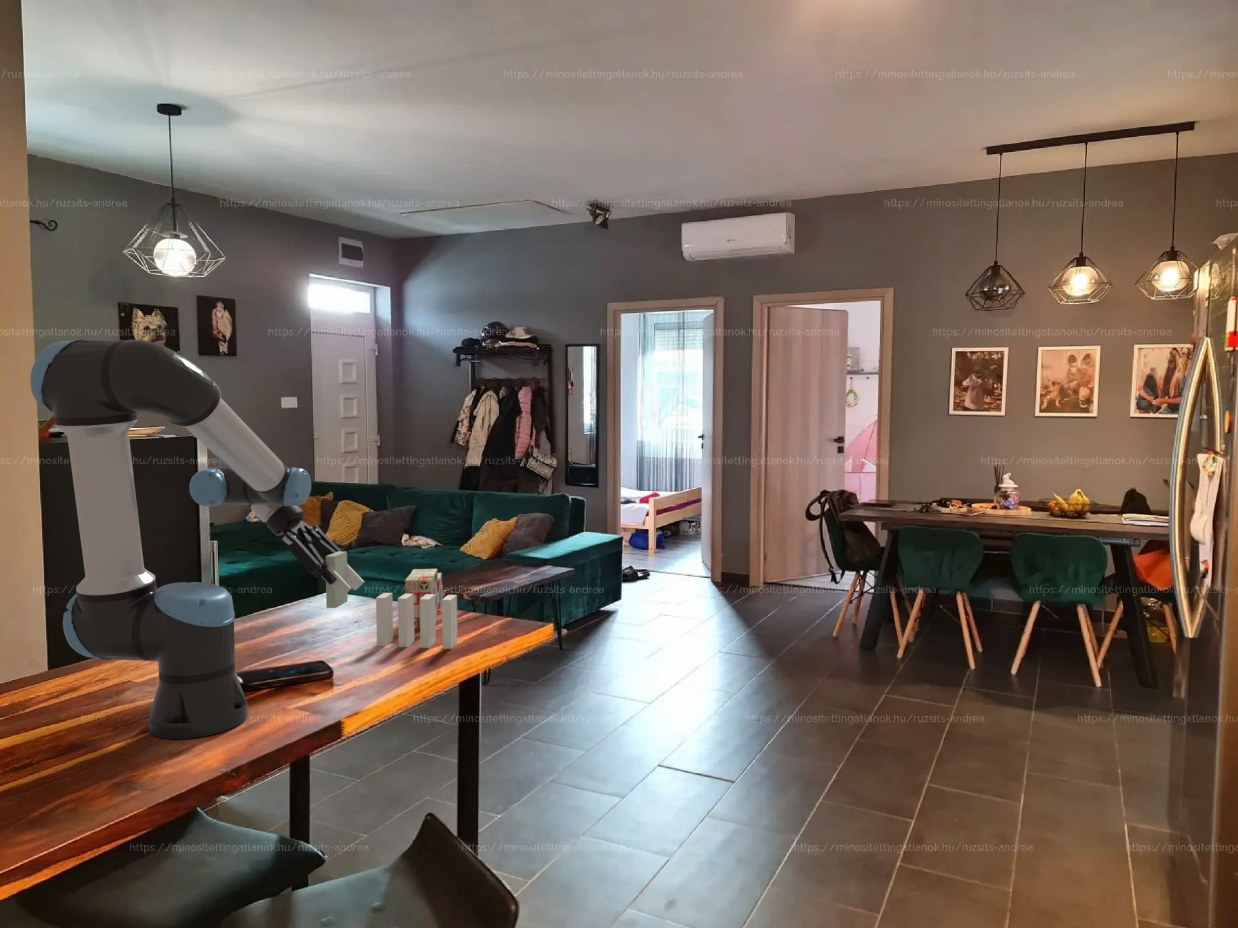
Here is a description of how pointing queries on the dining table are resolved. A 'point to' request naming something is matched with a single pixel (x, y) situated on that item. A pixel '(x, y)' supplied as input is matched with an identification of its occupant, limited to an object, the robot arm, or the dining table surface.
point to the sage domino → (340, 566)
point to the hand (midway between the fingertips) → (353, 589)
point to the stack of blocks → (424, 590)
